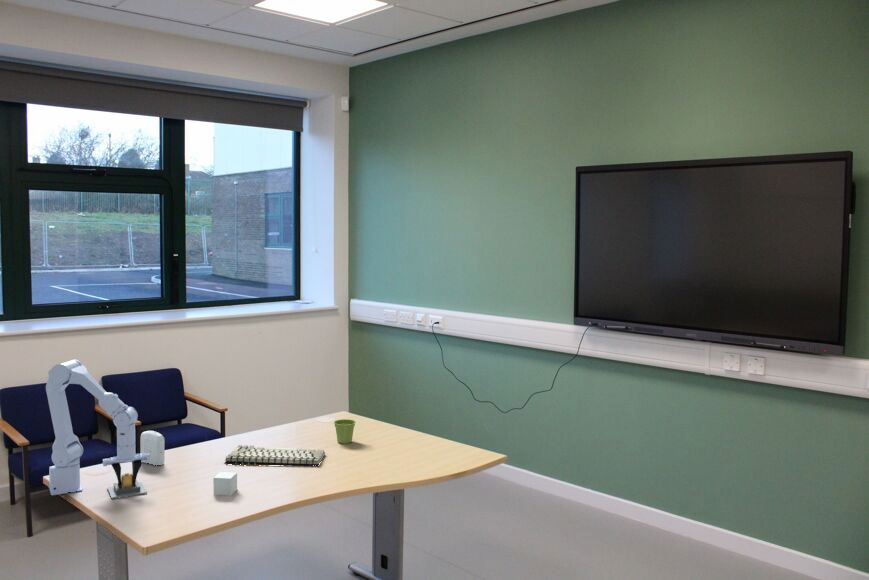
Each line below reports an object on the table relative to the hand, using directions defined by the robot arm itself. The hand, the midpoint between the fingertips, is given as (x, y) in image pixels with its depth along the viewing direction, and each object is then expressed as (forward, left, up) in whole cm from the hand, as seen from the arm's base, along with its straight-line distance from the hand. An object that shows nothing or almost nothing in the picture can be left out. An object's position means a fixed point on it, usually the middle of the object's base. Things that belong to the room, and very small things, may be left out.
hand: (126, 483), depth 247 cm
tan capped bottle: (0, 0, -2) cm, 2 cm away
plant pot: (+89, +19, -3) cm, 91 cm away
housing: (0, 0, -3) cm, 3 cm away
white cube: (+29, -16, -3) cm, 33 cm away
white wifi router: (+13, +27, -3) cm, 30 cm away
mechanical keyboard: (+56, +11, -4) cm, 57 cm away
